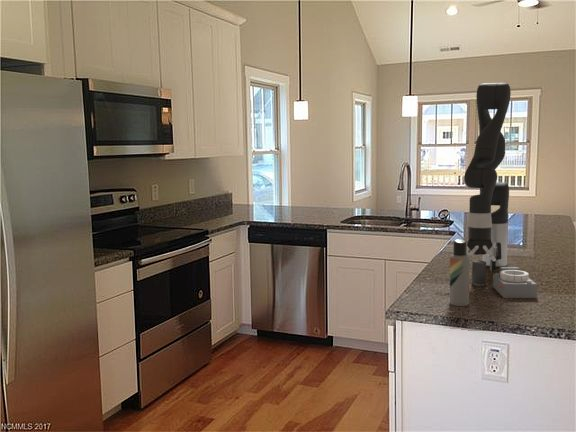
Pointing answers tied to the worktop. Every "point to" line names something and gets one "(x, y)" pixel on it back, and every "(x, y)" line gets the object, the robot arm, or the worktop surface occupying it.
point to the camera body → (514, 283)
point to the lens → (479, 273)
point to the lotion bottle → (459, 274)
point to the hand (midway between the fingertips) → (479, 271)
